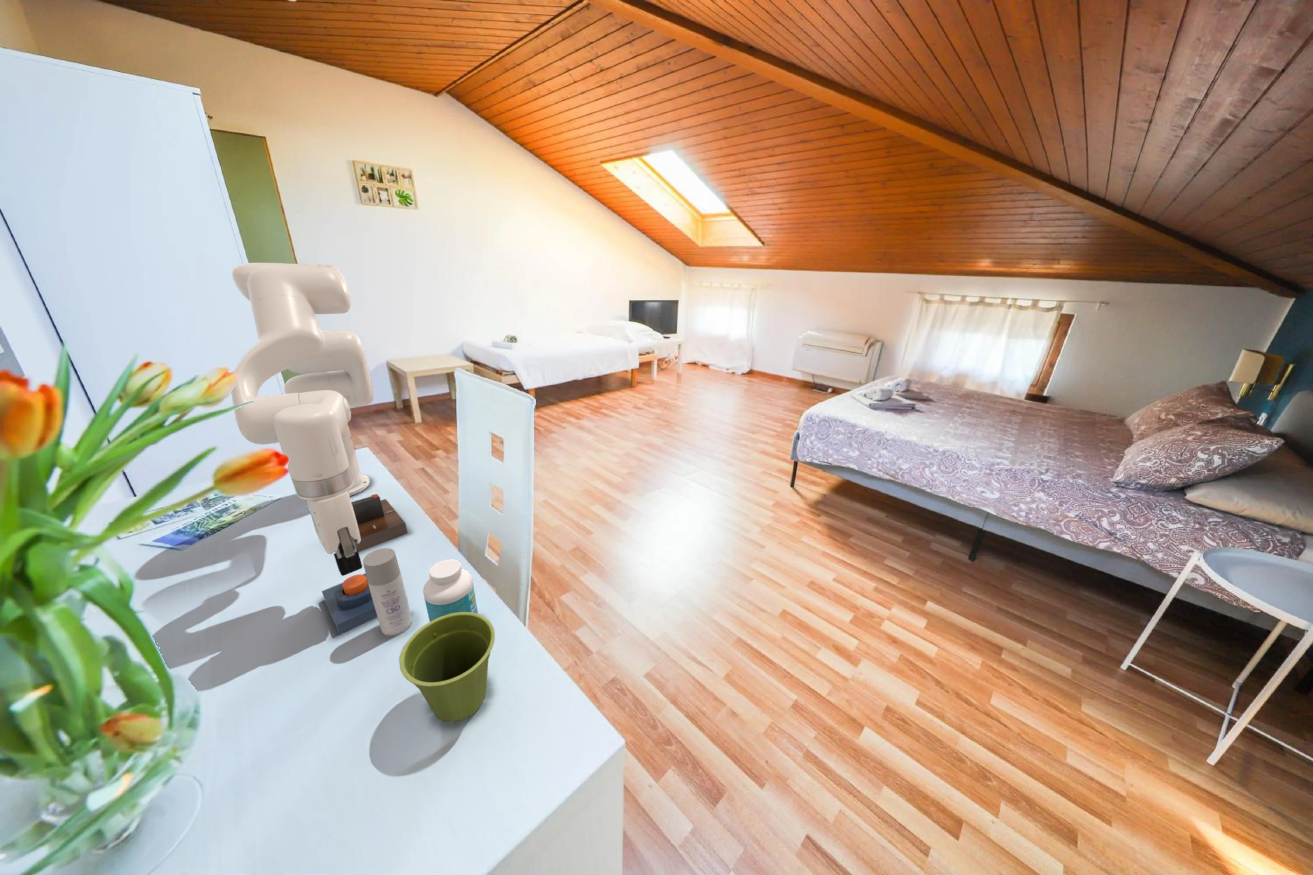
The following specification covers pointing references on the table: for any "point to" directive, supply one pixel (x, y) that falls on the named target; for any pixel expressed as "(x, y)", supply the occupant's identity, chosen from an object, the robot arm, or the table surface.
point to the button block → (349, 607)
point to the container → (387, 591)
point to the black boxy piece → (368, 508)
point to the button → (355, 584)
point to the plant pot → (450, 663)
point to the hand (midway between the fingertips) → (351, 569)
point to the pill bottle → (449, 590)
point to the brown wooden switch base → (381, 528)
